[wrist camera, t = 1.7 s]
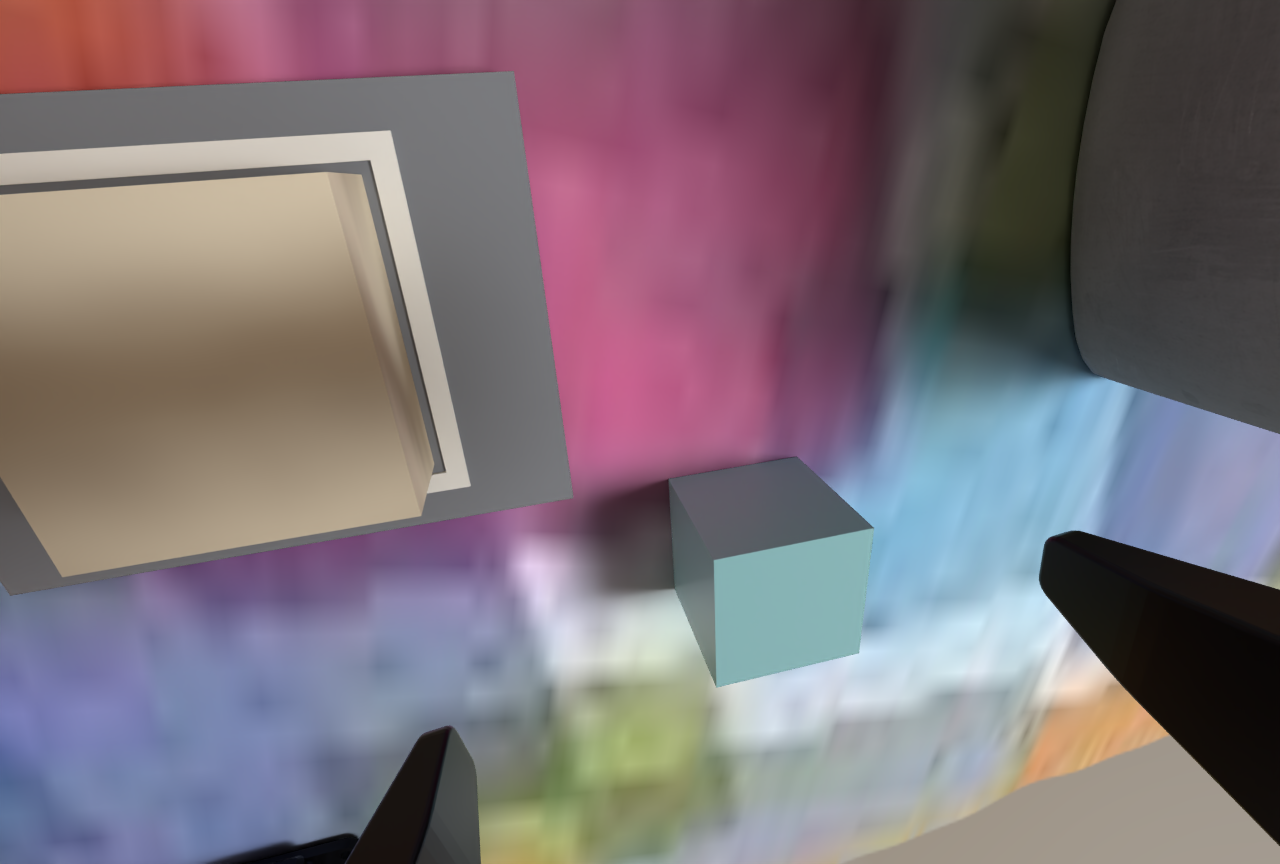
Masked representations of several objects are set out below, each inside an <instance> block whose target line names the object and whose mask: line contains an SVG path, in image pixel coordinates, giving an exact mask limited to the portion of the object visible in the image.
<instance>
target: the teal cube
mask: <svg viewBox="0 0 1280 864" xmlns="http://www.w3.org/2000/svg"><path fill="white" fill-rule="evenodd" d="M668 481H669V498H670V515H671V532H672V550H673V567H674V584H675V590H676V593H677V595H678V598H679V600H680V602H681V605H682V607H683V609H684V612H685V614H686V616H687V619H688V621H689V624H690V626H691V628H692V631H693V633H694V635H695V638H696V640H697V642H698V645H699V647H700V650H701V652H702V654H703V657H704V659H705V661H706V664H707V666H708V669H709V671H710V673H711V676H712V678H713V680H714V683H715V685H716V687H721V686H725V685H729V684H733V683H737V682H741V681H746V680H750V679H754V678H758V677H762V676H766V675H771V674H775V673H779V672H783V671H787V670H791V669H795V668H800V667H804V666H808V665H812V664H816V663H820V662H824V661H829V660H833V659H837V658H841V657H845V656H849V655H853V654H858V653H859V648H860V640H861V631H862V623H863V615H864V607H865V598H866V590H867V582H868V574H869V565H870V557H871V549H872V540H873V532H874V528H873V527H872V526H871V525H870V524H869V523H868V522H867V521H866V520H865V519H864V518H863V517H862V516H861V515H859V514H858V513H857V512H856V511H855V510H854V509H853V508H852V507H851V506H850V505H849V504H848V503H846V502H845V501H844V500H843V499H842V498H841V497H840V496H839V495H838V494H837V493H836V492H835V491H834V490H832V489H831V488H830V487H829V486H828V485H827V484H826V483H825V482H824V481H823V480H822V479H821V478H820V477H818V476H817V475H816V474H815V473H814V472H813V471H812V470H811V469H810V468H809V467H808V466H807V465H805V464H804V463H803V462H802V461H801V460H800V459H799V458H798V457H792V458H786V459H780V460H775V461H769V462H763V463H757V464H751V465H746V466H740V467H734V468H728V469H723V470H717V471H711V472H705V473H699V474H694V475H688V476H682V477H676V478H670V479H668Z"/></svg>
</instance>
